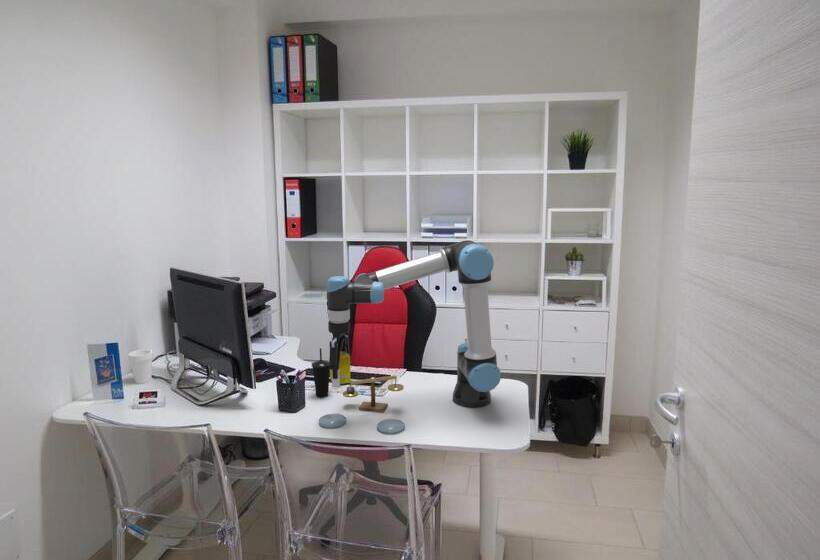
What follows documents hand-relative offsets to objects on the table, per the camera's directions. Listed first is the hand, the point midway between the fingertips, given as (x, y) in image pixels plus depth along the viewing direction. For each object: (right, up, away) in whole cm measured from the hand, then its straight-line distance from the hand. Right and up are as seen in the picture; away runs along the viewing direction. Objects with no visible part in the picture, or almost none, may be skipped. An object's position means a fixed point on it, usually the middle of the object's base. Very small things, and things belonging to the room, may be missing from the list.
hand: (340, 382), depth 207 cm
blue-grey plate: (+18, -16, -1) cm, 24 cm away
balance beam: (+11, -8, +15) cm, 20 cm away
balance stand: (+11, -13, +16) cm, 23 cm away
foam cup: (-91, -8, +46) cm, 103 cm away
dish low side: (-3, -15, +4) cm, 16 cm away
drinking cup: (-11, -11, +29) cm, 33 cm away
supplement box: (0, -1, 0) cm, 1 cm away
